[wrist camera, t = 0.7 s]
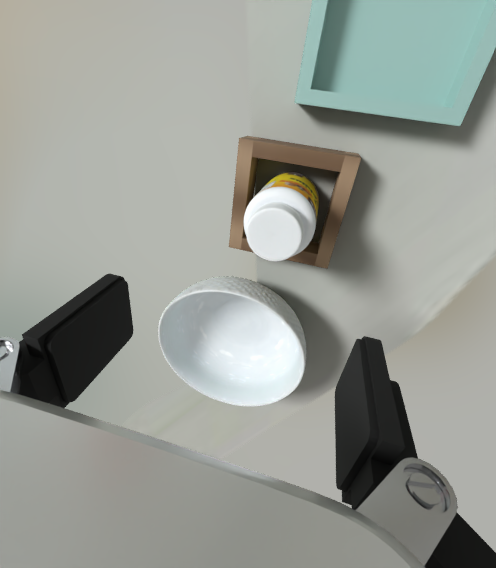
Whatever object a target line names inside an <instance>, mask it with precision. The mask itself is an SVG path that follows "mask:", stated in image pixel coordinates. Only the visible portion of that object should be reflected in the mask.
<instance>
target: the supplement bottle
mask: <svg viewBox="0 0 496 568" xmlns="http://www.w3.org/2000/svg"><path fill="white" fill-rule="evenodd" d="M318 207H319V195H318V192H317V189H316V187H315V185H314V184H313V182H312V181H311V180H310V179H309V178H307V177H306V176H304V175H302V174H300V173H296V172H285V173H282V174H279V175H277V176H275V177H274V178H272V179H271V180H270V181H269V182H268V183H267V184H266V185H265V186H264V187H263V188H262V189H261V190H260V192H259V193H258V194H257V195H256V196H255V197H254V198H253V199H252V200H251V201H250V203H249V205H248V206H247V209H246V211H245V215H244V230H245V234H246V237H247V241H248V244H249V246H250V248H251V249H252V250H253V252H254V253H255V254H256V255H258V256H259V257H261V258H263V259H265V260H268V261H282V260H285V259H288V258H290V257H291V256H294V255H296V254H298V253H300V252H301V251H303V250H304V249H305V248H306V247H307V246H308V244H309V243H310V241H311V240H312V238H313V235H314V232H315V228H316V221H317V214H318Z"/></svg>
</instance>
